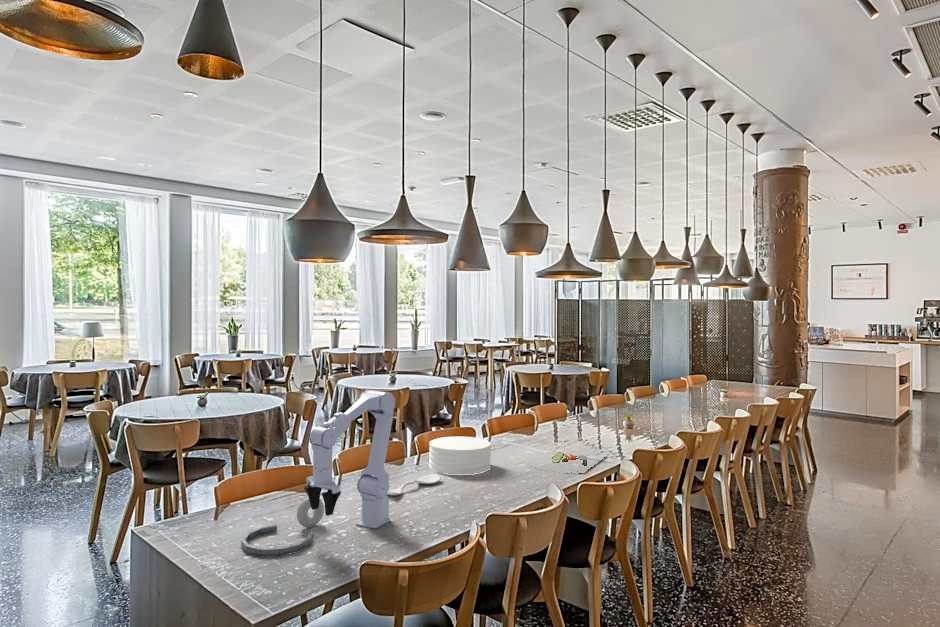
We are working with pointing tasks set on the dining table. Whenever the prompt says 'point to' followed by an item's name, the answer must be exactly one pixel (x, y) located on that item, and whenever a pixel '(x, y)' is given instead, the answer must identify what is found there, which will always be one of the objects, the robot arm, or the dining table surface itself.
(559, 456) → the green red elongated piece
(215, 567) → the dining table surface
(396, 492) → the spoon
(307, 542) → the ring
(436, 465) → the plate stack
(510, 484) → the dining table surface
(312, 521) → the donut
